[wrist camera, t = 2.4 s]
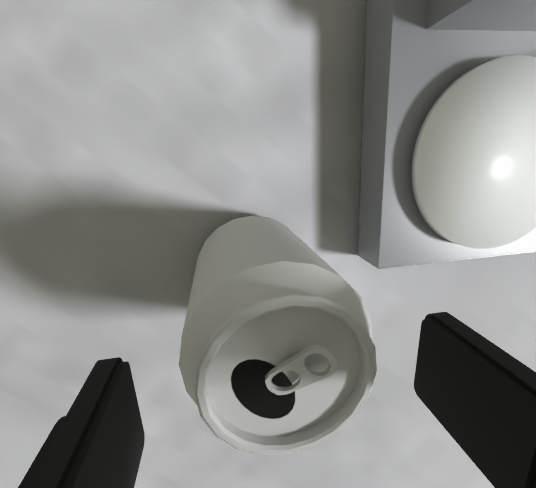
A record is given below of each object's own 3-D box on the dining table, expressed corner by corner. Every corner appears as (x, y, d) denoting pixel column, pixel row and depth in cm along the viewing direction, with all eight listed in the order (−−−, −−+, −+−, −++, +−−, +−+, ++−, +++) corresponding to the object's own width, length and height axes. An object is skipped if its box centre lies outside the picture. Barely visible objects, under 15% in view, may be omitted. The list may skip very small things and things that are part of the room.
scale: (519, 239, 24) (634, 267, 18) (357, 255, 22) (418, 294, 16) (569, -29, 19) (753, -128, 13) (368, -39, 17) (462, -164, 11)
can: (173, 257, 20) (116, 383, 9) (262, 190, 20) (325, 228, 8) (240, 332, 22) (266, 509, 11) (321, 272, 22) (432, 389, 11)
